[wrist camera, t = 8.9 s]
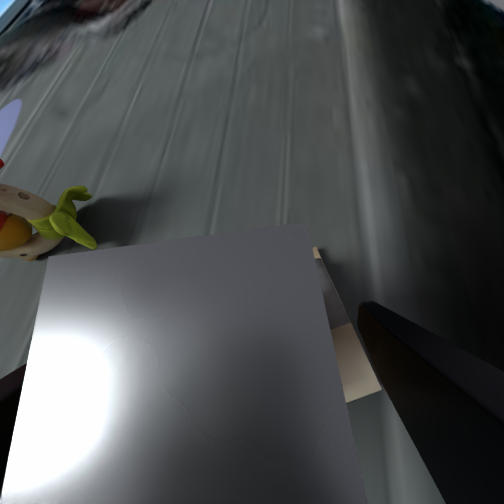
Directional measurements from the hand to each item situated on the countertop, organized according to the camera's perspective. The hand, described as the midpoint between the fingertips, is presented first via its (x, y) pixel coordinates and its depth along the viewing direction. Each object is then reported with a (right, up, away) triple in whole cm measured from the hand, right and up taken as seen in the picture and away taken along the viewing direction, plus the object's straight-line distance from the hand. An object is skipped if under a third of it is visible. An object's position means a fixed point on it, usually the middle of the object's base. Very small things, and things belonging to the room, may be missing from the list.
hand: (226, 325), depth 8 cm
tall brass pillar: (+1, -4, +8) cm, 9 cm away
